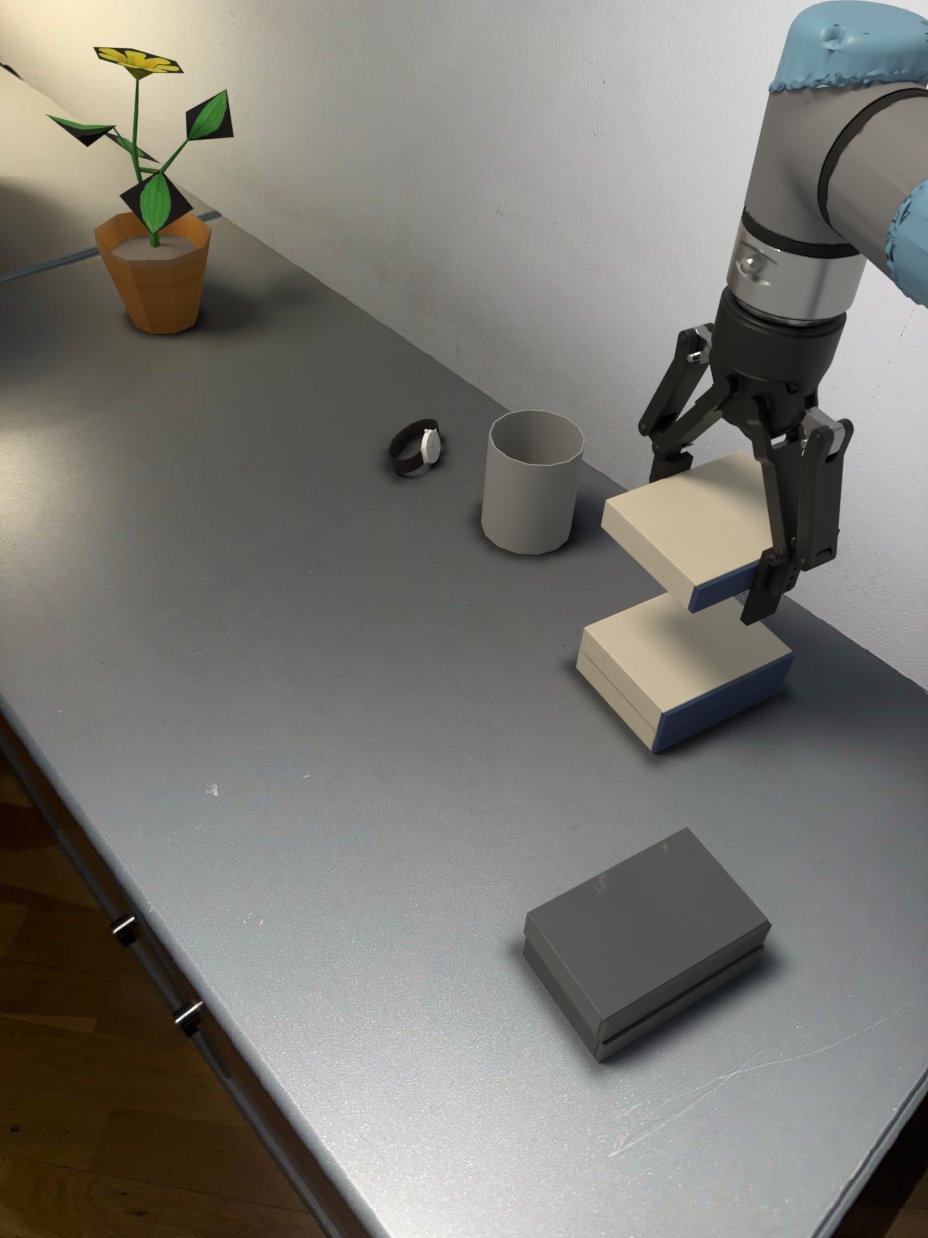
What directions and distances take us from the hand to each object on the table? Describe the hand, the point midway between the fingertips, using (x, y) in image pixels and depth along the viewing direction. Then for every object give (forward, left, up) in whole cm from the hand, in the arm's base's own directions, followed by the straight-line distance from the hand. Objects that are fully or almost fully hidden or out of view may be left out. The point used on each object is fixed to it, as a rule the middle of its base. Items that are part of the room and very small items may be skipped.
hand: (706, 570), depth 81 cm
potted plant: (+72, +16, -12) cm, 75 cm away
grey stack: (-18, +18, -12) cm, 28 cm away
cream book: (0, 0, +3) cm, 3 cm away
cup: (+22, 0, -12) cm, 25 cm away
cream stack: (0, 0, -12) cm, 12 cm away
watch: (+36, +4, -12) cm, 38 cm away
